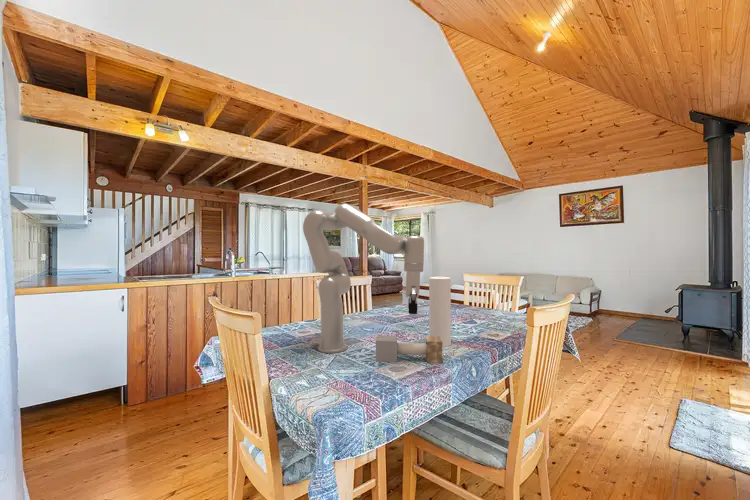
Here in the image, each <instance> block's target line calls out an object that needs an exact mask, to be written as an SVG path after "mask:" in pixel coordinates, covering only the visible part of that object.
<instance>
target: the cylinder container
mask: <svg viewBox="0 0 750 500" xmlns="http://www.w3.org/2000/svg"><path fill="white" fill-rule="evenodd" d="M451 281H452V280H451V277H450V276H449V277H447V276H443V275H442V276H440V275H439V276H438V275H437V276H431V277H429V278H428V282H429V283H428V288H429V289H428V290H429V291H428V294H429V295H428V296H429V297H428V299H429V300H428V301H429V305H428V306H429V308H428V309H429V313H428V314H429V315H428V316H429V317H428V318H429V336H440V337H441V340H442V348H444V347H449V346H451V344H452V319H451V318H452V317H451V316H452V312H451V311H452V308H451V307H452V299H451V297H452V295H451V292H452V291H451V290H452V288H451V287H452V285H451V283H452V282H451Z"/></svg>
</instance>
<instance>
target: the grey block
mask: <svg viewBox="0 0 750 500" xmlns="http://www.w3.org/2000/svg"><path fill="white" fill-rule="evenodd" d="M397 343H398V335H376V338H375V362H376V363H377V362H378V363H380V362H381V363H382V362H383V363H397V362H398V354H397Z"/></svg>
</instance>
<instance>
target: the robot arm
mask: <svg viewBox="0 0 750 500" xmlns="http://www.w3.org/2000/svg"><path fill="white" fill-rule="evenodd" d="M344 228H348V229H350V230H352V231H353V232H355V233H356V234H358V235H359V236H360V237H362V238H363V239H364V240H366V242H368V243H369V244H371V245H372V246H374V247H375V248H376V249H378V250H380V251H381V252H383V253H385V254H388V255H401V254H404V258H403V259H404V262H403V263H404V265H403V271H404V272H406V277H405V278H406V280H405V297H406V298H408V302H407V303H408V315H417V314H418V298H419V295H420V287H421V273H423V272H424V267H425V266H424V264H425V261H424V259H425V238H424V237H423V236H420V235H408V236H405V235H397V234H393V233H390V232H388V231H387V230H386V229H383V227H381V226H379V225H378V224H377V223H376V221H375V219H374V218H373V217H371V216H369V215H368V214H366V213H365V212H362V211H361V209H360V208H359V207H358V206H357V205H353V204H349V203H347V202H346V203H340V204H338V205H337V206H336V207H335V209H334V211H327V210H323V209H316V210H311V211H310V212H309V213H308V214H306V216H305V218H304V221H303V223H302V230H303V235H304V238H305V240H306V243H307V246H308V249H309V253H310V256H311V259H312V263H313V265H314V268H315V270H316V271H317V272H318V273H319V274H327V276H324V277H323V278H322V279H320V281H319V284H318V294H319V295H318V296H319V302H320V337H319V338H313V337H312V338H311V343H312V345H317V351H319V352H321V353H325V354H326V353H327V354H335V353H341V352H344V351H346V350H348V344H347V343H345V342H344V306H343V300H342V295H345V294H347V293H348V292H349V291H350V289H351V286H352V285H351V284H352V283H351V278H350V274H349V272H348V268H347V266H346V262H345V260H344V258H343V256H342V254H341V253H339V252H337V251H336V250H335V251H334V250H331V248H330V245H329V242H328V239H327V237H326V236H325V234H324V233H323V231H336V230H340V229H344Z"/></svg>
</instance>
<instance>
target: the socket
mask: <svg viewBox="0 0 750 500" xmlns="http://www.w3.org/2000/svg"><path fill="white" fill-rule="evenodd" d="M425 343H427V355H425V358H426V362H427V363H428V364H442V363H443V347H442V340H441V337H440V336H430V335H429V336H428V335H427V336H425Z"/></svg>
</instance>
